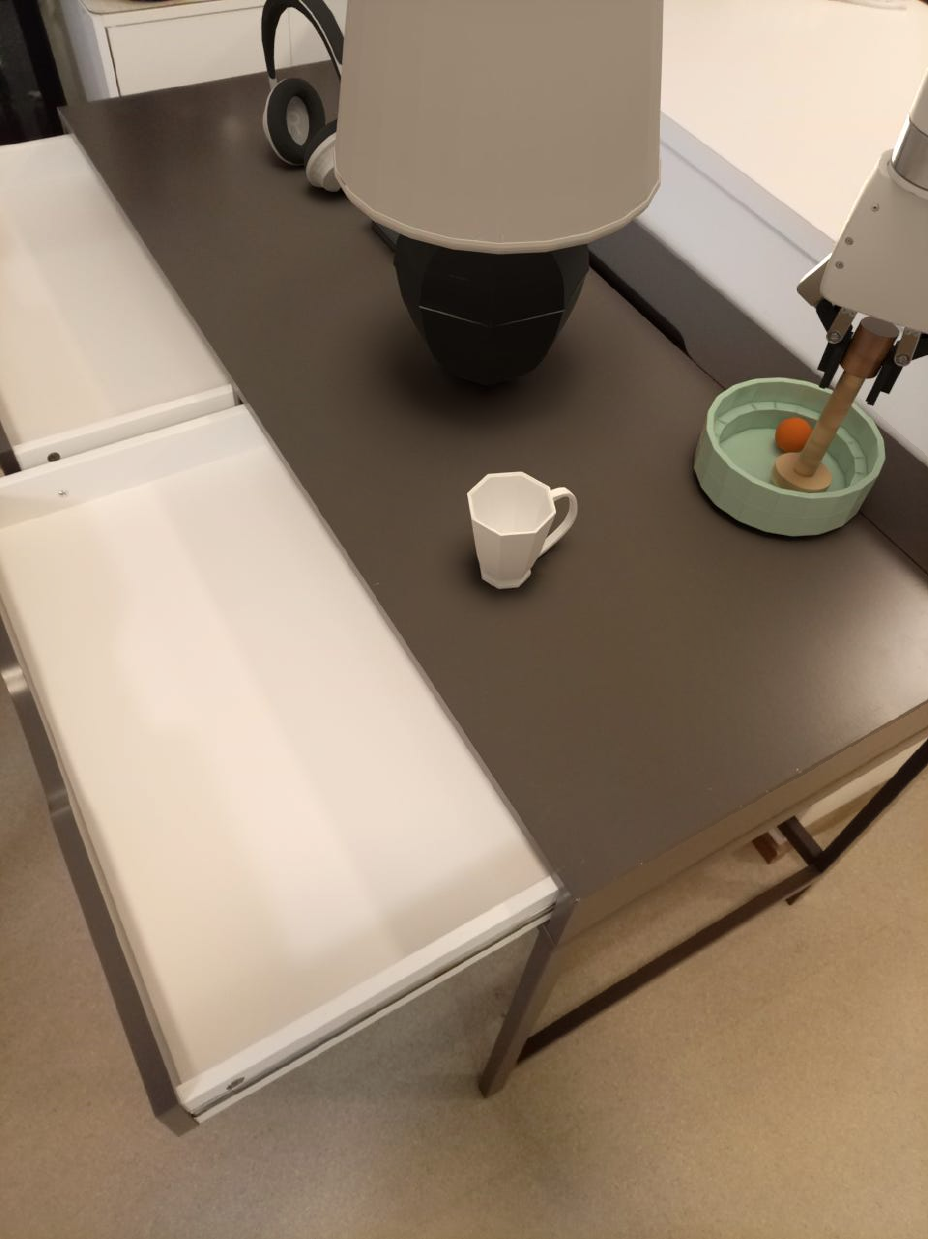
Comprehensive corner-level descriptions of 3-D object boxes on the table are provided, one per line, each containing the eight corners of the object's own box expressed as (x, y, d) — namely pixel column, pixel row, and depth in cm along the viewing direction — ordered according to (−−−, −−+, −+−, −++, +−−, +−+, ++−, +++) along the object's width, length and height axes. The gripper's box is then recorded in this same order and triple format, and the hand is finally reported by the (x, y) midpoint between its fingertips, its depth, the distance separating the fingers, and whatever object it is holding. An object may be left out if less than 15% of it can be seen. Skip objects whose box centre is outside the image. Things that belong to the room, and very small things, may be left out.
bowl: (879, 460, 84) (903, 414, 79) (833, 567, 76) (858, 523, 71) (725, 403, 88) (741, 357, 83) (667, 499, 80) (680, 454, 75)
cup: (447, 556, 75) (448, 488, 69) (546, 514, 78) (556, 446, 72) (490, 614, 72) (495, 549, 65) (592, 568, 75) (607, 502, 68)
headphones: (252, 153, 114) (222, -31, 98) (308, 135, 117) (288, -46, 101) (334, 219, 106) (316, 29, 89) (392, 197, 109) (385, 10, 93)
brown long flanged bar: (833, 479, 79) (919, 326, 68) (816, 508, 76) (904, 353, 65) (780, 455, 81) (857, 302, 69) (762, 483, 78) (839, 327, 66)
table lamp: (485, 260, 101) (508, -212, 69) (673, 372, 90) (805, -127, 58) (296, 361, 90) (218, -148, 58) (486, 504, 79) (521, -27, 47)
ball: (806, 432, 84) (817, 412, 81) (805, 461, 82) (816, 442, 79) (772, 429, 84) (780, 408, 81) (770, 457, 83) (779, 438, 80)
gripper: (1101, 165, 57) (963, 396, 71) (846, 101, 61) (767, 330, 76) (1085, 218, 53) (943, 451, 67) (814, 145, 57) (737, 378, 72)
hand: (851, 385), depth 71 cm, fingers closed on brown long flanged bar, 3 cm apart
